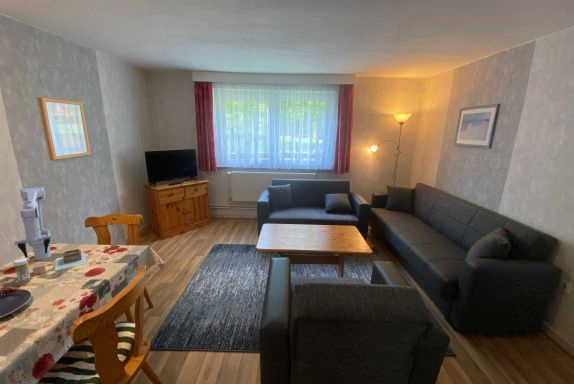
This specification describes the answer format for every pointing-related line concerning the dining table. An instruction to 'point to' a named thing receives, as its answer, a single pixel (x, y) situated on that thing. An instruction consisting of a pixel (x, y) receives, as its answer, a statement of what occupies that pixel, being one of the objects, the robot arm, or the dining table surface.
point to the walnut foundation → (72, 256)
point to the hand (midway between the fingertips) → (36, 255)
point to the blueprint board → (61, 265)
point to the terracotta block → (39, 268)
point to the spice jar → (22, 271)
